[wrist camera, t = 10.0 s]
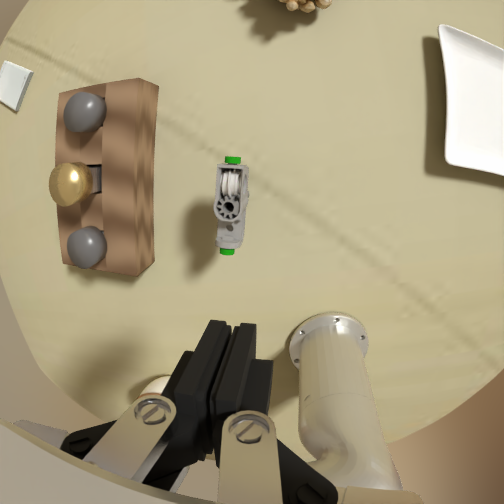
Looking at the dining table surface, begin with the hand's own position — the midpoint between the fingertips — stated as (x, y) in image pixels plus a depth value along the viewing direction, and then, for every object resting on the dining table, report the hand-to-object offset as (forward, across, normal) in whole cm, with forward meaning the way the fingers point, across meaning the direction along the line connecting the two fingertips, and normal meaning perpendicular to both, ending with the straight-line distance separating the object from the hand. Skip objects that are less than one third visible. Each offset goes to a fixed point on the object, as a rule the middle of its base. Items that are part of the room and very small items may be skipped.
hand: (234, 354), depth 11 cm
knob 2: (+29, +25, +4) cm, 39 cm away
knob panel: (+30, +25, -5) cm, 39 cm away
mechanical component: (+31, +5, -2) cm, 31 cm away
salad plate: (+31, -32, -19) cm, 49 cm away
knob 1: (+29, +24, -14) cm, 40 cm away
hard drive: (+31, +52, -26) cm, 66 cm away
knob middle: (+26, +25, -5) cm, 36 cm away
